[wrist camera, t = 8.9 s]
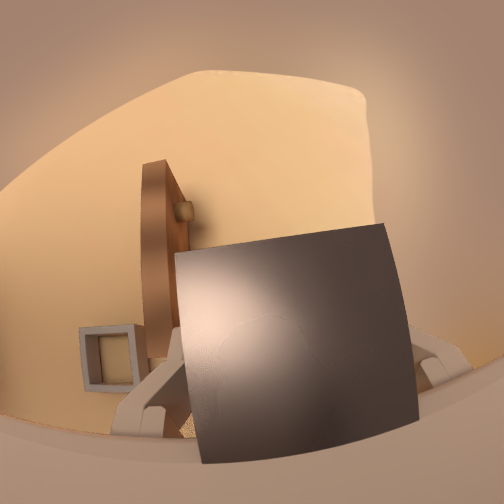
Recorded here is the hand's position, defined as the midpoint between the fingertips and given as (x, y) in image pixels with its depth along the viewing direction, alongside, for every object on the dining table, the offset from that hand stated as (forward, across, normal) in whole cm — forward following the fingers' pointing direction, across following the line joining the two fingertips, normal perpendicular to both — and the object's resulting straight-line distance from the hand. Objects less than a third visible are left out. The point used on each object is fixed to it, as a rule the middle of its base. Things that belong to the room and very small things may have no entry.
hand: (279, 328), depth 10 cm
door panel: (+21, +9, +9) cm, 25 cm away
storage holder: (+15, +17, +16) cm, 27 cm away
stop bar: (+4, 0, +5) cm, 6 cm away
